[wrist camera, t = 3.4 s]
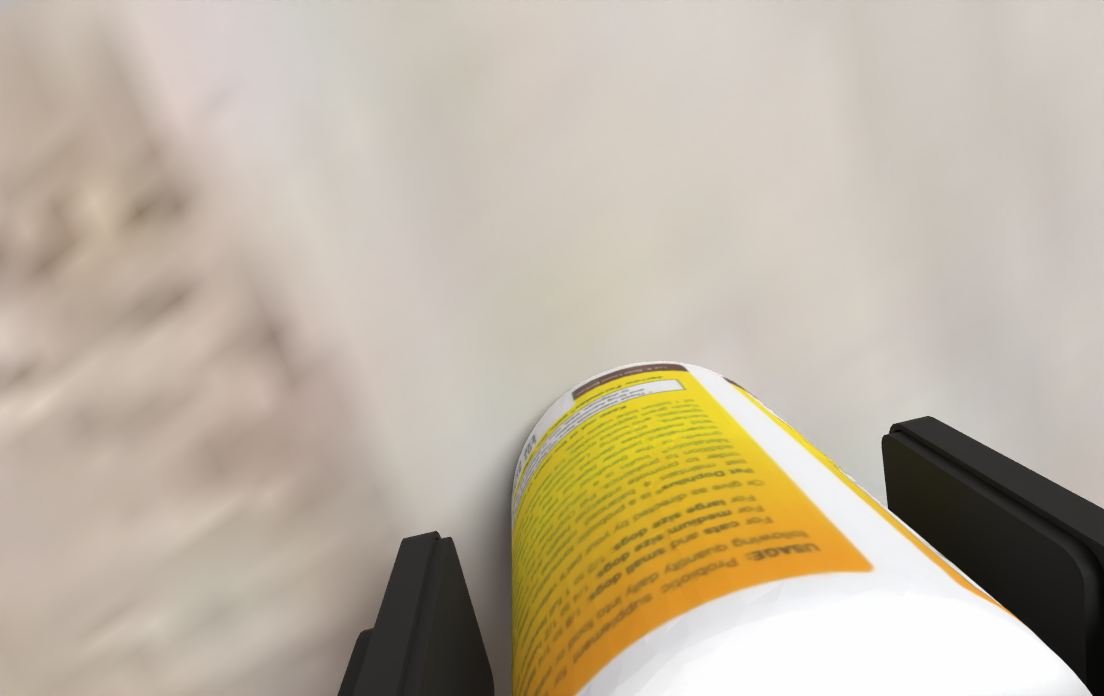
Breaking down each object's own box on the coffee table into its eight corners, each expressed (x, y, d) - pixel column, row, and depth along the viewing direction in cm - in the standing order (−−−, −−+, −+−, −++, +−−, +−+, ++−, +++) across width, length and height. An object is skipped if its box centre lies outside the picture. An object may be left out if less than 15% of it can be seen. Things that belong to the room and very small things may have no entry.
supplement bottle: (471, 555, 13) (355, 1584, 4) (574, 310, 12) (824, 802, 2) (709, 633, 14) (1167, 1654, 4) (826, 409, 13) (1799, 1088, 3)
